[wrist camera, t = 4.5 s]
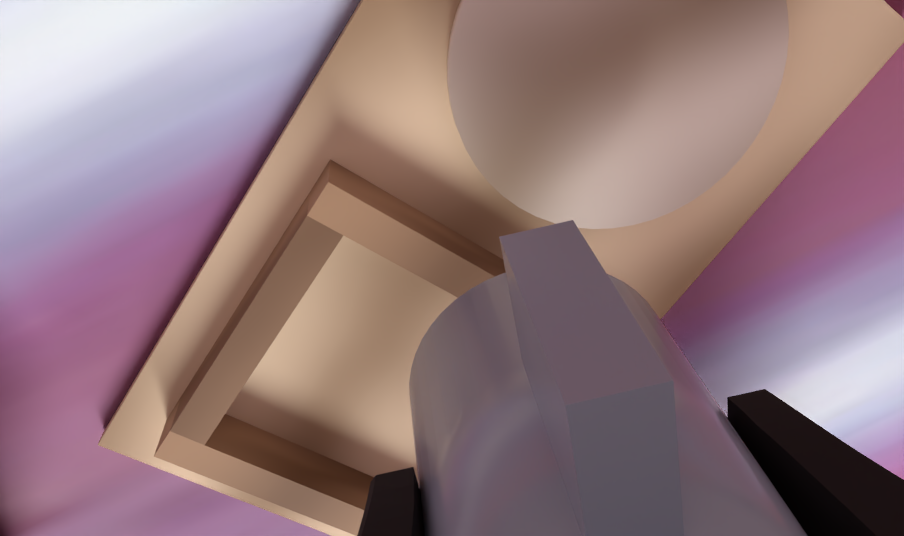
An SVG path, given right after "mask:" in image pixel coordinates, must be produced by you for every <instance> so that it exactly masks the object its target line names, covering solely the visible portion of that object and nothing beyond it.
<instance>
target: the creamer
mask: <svg viewBox="0 0 904 536" xmlns="http://www.w3.org/2000/svg"><path fill="white" fill-rule="evenodd" d="M499 239H500V244H501V250H502V255H503V260H504V266H505V271H506V273H503V274H500V275H498V276H495V277H493V278H491V279H488V280H486V281H484V282H482V283H480V284H479V285H477V286H475V287H473V288H472V289H470V290H468V291H467V292H465V293H464V294H463V295H461V296H460V297H459V298H457V299H456V300H454V301H453V302H452V303H451V304H450V305H449V306H448V307H447V308H446V309H445V310H444V311H443V312H442V313H441V314H440V315H439V316H438V317H437V319H436V320H435V321H434V322H433V323H432V324H431V326H430V327H429V329H428V330H427V332H426V334H425V335H424V337H423V338H422V340H421V342H420V344H419V347H418V349H417V351H416V353H415V356H414V360H413V363H412V367H411V372H410V380H409V395H410V406H411V416H412V426H413V435H414V445H415V454H416V464H417V474H418V483H419V489H420V497H421V506H422V516H423V525H424V535H425V536H808V535H807V534H806V532H805V531H804V530H803V528H802V527H801V525H800V524H799V522H798V521H797V519H796V518H795V516H794V515H793V513H792V512H791V510H790V509H789V508H788V506H787V505H786V503H785V502H784V500H783V499H782V497H781V496H780V494H779V493H778V491H777V490H776V488H775V487H774V486H773V484H772V483H771V481H770V480H769V478H768V477H767V475H766V474H765V472H764V471H763V469H762V468H761V466H760V465H759V464H758V462H757V461H756V459H755V458H754V456H753V455H752V453H751V452H750V450H749V449H748V447H747V446H746V444H745V443H744V442H743V440H742V439H741V437H740V436H739V434H738V433H737V431H736V430H735V428H734V427H733V425H732V424H731V422H730V421H729V420H728V418H727V417H726V415H725V414H724V412H723V411H722V409H721V408H720V406H719V405H718V403H717V402H716V400H715V399H714V398H713V396H712V395H711V393H710V392H709V390H708V389H707V387H706V386H705V384H704V383H703V381H702V380H701V378H700V377H699V376H698V374H697V373H696V371H695V370H694V368H693V367H692V365H691V364H690V362H689V361H688V359H687V358H686V356H685V355H684V354H683V352H682V351H681V349H680V348H679V346H678V345H677V343H676V342H675V340H674V339H673V337H672V336H671V334H670V333H669V332H668V330H667V329H666V327H665V326H664V324H663V323H662V321H661V320H660V318H659V317H658V315H657V314H656V312H655V311H654V310H653V308H652V307H651V306H650V304H649V303H648V302H647V301H646V300H645V299H644V298H643V297H642V296H641V295H640V294H639V293H638V292H637V291H636V290H635V289H633V288H632V287H630V286H629V285H627V284H626V283H625V282H623V281H621V280H619V279H617V278H615V277H613V276H611V275H609V274H607V273H606V272H605V270H604V269H603V267H602V266H601V264H600V262H599V261H598V259H597V258H596V256H595V254H594V253H593V251H592V250H591V248H590V246H589V245H588V243H587V242H586V240H585V238H584V237H583V235H582V234H581V232H580V230H579V229H578V227H577V226H576V224H575V222H574V221H573V220H570V221H566V222H562V223H557V224H553V225H548V226H544V227H540V228H535V229H531V230H526V231H522V232H518V233H513V234H509V235H505V236H500V237H499Z"/></svg>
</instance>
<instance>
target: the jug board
mask: <svg viewBox="0 0 904 536" xmlns="http://www.w3.org/2000/svg"><path fill="white" fill-rule="evenodd" d="M903 43H904V19H903V18H902V17H901V16H900V15H899V14H898V13H897V12H896V11H895V10H894V9H893V8H891V7H890V6H889V5H888V4H887V3H886V2H885V1H884V0H361V1H360V2H359V4H358V6H357V7H356V9H355V11H354V12H353V14H352V16H351V17H350V19H349V21H348V22H347V24H346V26H345V27H344V29H343V31H342V32H341V34H340V36H339V37H338V39H337V41H336V43H335V44H334V46H333V48H332V49H331V51H330V53H329V54H328V56H327V58H326V59H325V61H324V63H323V64H322V66H321V68H320V69H319V71H318V73H317V74H316V76H315V78H314V79H313V81H312V83H311V85H310V86H309V88H308V90H307V91H306V93H305V95H304V96H303V98H302V100H301V101H300V103H299V105H298V106H297V108H296V110H295V111H294V113H293V115H292V116H291V118H290V120H289V121H288V123H287V125H286V126H285V128H284V130H283V132H282V133H281V135H280V137H279V138H278V140H277V142H276V143H275V145H274V147H273V148H272V150H271V152H270V153H269V155H268V157H267V158H266V160H265V162H264V163H263V165H262V167H261V168H260V170H259V172H258V173H257V175H256V177H255V179H254V180H253V182H252V184H251V185H250V187H249V189H248V190H247V192H246V194H245V195H244V197H243V199H242V200H241V202H240V204H239V205H238V207H237V209H236V210H235V212H234V214H233V215H232V217H231V219H230V220H229V222H228V224H227V226H226V227H225V229H224V231H223V232H222V234H221V236H220V237H219V239H218V241H217V242H216V244H215V246H214V247H213V249H212V251H211V252H210V254H209V256H208V257H207V259H206V261H205V262H204V264H203V266H202V267H201V269H200V271H199V273H198V274H197V276H196V278H195V279H194V281H193V283H192V284H191V286H190V288H189V289H188V291H187V293H186V294H185V296H184V298H183V299H182V301H181V303H180V304H179V306H178V308H177V309H176V311H175V313H174V314H173V316H172V318H171V320H170V321H169V323H168V325H167V326H166V328H165V330H164V331H163V333H162V335H161V336H160V338H159V340H158V341H157V343H156V345H155V346H154V348H153V350H152V351H151V353H150V355H149V356H148V358H147V360H146V361H145V363H144V365H143V367H142V368H141V370H140V372H139V373H138V375H137V377H136V378H135V380H134V382H133V383H132V385H131V387H130V388H129V390H128V392H127V393H126V395H125V397H124V398H123V400H122V402H121V403H120V405H119V407H118V409H117V410H116V412H115V414H114V415H113V417H112V419H111V420H110V422H109V424H108V425H107V427H106V429H105V430H104V432H103V434H102V437H101V439H100V441H99V443H98V445H99V446H102V447H104V448H107V449H109V450H112V451H115V452H117V453H120V454H122V455H125V456H128V457H130V458H133V459H135V460H138V461H140V462H143V463H146V464H148V465H151V466H153V467H156V468H159V469H161V470H164V471H166V472H169V473H171V474H174V475H177V476H179V477H182V478H184V479H187V480H190V481H192V482H195V483H197V484H200V485H202V486H205V487H208V488H210V489H213V490H215V491H218V492H221V493H223V494H226V495H228V496H231V497H233V498H236V499H239V500H241V501H244V502H246V503H249V504H252V505H254V506H257V507H259V508H262V509H264V510H267V511H270V512H272V513H275V514H277V515H280V516H282V517H285V518H288V519H290V520H293V521H295V522H298V523H301V524H303V525H306V526H308V527H311V528H313V529H316V530H319V531H321V532H324V533H326V534H329V535H332V536H357V535H358V532H359V528H360V525H361V521H362V517H363V514H364V510H365V506H366V501H367V497H368V492H369V487H370V482H371V481H372V479H373V478H374V477H375V476H376V475H379V474H383V473H388V472H392V471H397V470H401V469H406V468H410V467H414V471H415V475H416V478H417V482H418V474H417V464H416V454H415V445H414V435H413V426H412V416H411V406H410V395H409V380H410V372H411V367H412V363H413V360H414V356H415V353H416V351H417V349H418V347H419V344H420V342H421V340H422V338H423V337H424V335H425V334H426V332H427V330H428V329H429V327H430V326H431V324H432V323H433V322H434V321H435V320H436V319H437V317H438V316H439V315H440V314H441V313H442V312H443V311H444V310H445V309H446V308H447V307H448V306H449V305H450V304H451V303H452V302H453V301H454V300H456V299H457V298H459V297H460V296H461V295H463V294H464V293H465V292H467V291H468V290H470V289H472V288H473V287H475V286H477V285H479V284H480V283H482V282H484V281H486V280H488V279H491V278H493V277H495V276H498V275H500V274H503V273H506V271H505V266H504V260H503V255H502V250H501V244H500V239H499V237H500V236H505V235H509V234H513V233H518V232H522V231H526V230H531V229H535V228H540V227H544V226H548V225H553V224H557V223H562V222H566V221H570V220H573V221H574V222H575V224H576V226H577V227H578V229H579V230H580V232H581V234H582V235H583V237H584V238H585V240H586V242H587V243H588V245H589V246H590V248H591V250H592V251H593V253H594V254H595V256H596V258H597V259H598V261H599V262H600V264H601V266H602V267H603V269H604V270H605V272H606V273H607V274H609V275H611V276H613V277H615V278H617V279H619V280H621V281H623V282H625V283H626V284H627V285H629V286H630V287H632V288H633V289H635V290H636V291H637V292H638V293H639V294H640V295H641V296H642V297H643V298H644V299H645V300H646V301H647V302H648V303H649V304H650V306H651V307H652V308H653V310H654V311H655V312H656V314H657V315H658V317H659V318H660V320H661V318H662V317H663V316H664V315H665V314H666V313H667V312H668V310H669V309H670V308H671V307H672V306H673V305H674V304H675V303H676V301H677V300H678V299H679V298H680V297H681V296H682V295H683V293H684V292H685V291H686V290H687V289H688V288H689V287H690V285H691V284H692V283H693V282H694V281H695V280H696V279H697V277H698V276H699V275H700V274H701V273H702V272H703V271H704V269H705V268H706V267H707V266H708V265H709V264H710V263H711V261H712V260H713V259H714V258H715V257H716V256H717V255H718V253H719V252H720V251H721V250H722V249H723V248H724V247H725V246H726V244H727V243H728V242H729V241H730V240H731V239H732V238H733V236H734V235H735V234H736V233H737V232H738V231H739V230H740V228H741V227H742V226H743V225H744V224H745V223H746V222H747V220H748V219H749V218H750V217H751V216H752V215H753V214H754V212H755V211H756V210H757V209H758V208H759V207H760V206H761V204H762V203H763V202H764V201H765V200H766V199H767V198H768V196H769V195H770V194H771V193H772V192H773V191H774V190H775V189H776V187H777V186H778V185H779V184H780V183H781V182H782V181H783V179H784V178H785V177H786V176H787V175H788V174H789V173H790V171H791V170H792V169H793V168H794V167H795V166H796V165H797V163H798V162H799V161H800V160H801V159H802V158H803V157H804V155H805V154H806V153H807V152H808V151H809V150H810V149H811V147H812V146H813V145H814V144H815V143H816V142H817V141H818V139H819V138H820V137H821V136H822V135H823V134H824V133H825V132H826V130H827V129H828V128H829V127H830V126H831V125H832V124H833V122H834V121H835V120H836V119H837V118H838V117H839V116H840V114H841V113H842V112H843V111H844V110H845V109H846V108H847V106H848V105H849V104H850V103H851V102H852V101H853V100H854V98H855V97H856V96H857V95H858V94H859V93H860V92H861V90H862V89H863V88H864V87H865V86H866V85H867V84H868V83H869V81H870V80H871V79H872V78H873V77H874V76H875V75H876V73H877V72H878V71H879V70H880V69H881V68H882V67H883V65H884V64H885V63H886V62H887V61H888V60H889V59H890V57H891V56H892V55H893V54H894V53H895V52H896V51H897V49H898V48H899V47H900V46H901V45H902V44H903ZM418 485H419V483H418Z"/></svg>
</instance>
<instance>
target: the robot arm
mask: <svg viewBox="0 0 904 536" xmlns="http://www.w3.org/2000/svg"><path fill="white" fill-rule="evenodd" d="M727 399H728V420H729V421H730V422H731V424H732V425H733V427H734V428H735V430H736V431H737V433H738V434H739V436H740V437H741V439H742V440H743V442H744V443H745V444H746V446H747V447H748V449H749V450H750V452H751V453H752V455H753V456H754V458H755V459H756V461H757V462H758V464H759V465H760V466H761V468H762V469H763V471H764V472H765V474H766V475H767V477H768V478H769V480H770V481H771V483H772V484H773V486H774V487H775V488H776V490H777V491H778V493H779V494H780V496H781V497H782V499H783V500H784V502H785V503H786V505H787V506H788V508H789V509H790V510H791V512H792V513H793V515H794V516H795V518H796V519H797V521H798V522H799V524H800V525H801V527H802V528H803V530H804V531H805V532H806V534H807V535H808V536H904V480H903V479H901V478H900V477H898V476H896V475H895V474H893V473H891V472H890V471H888V470H887V469H885V468H883V467H882V466H880V465H879V464H877V463H875V462H874V461H872V460H871V459H869V458H867V457H866V456H864V455H863V454H861V453H860V452H858V451H856V450H855V449H853V448H852V447H850V446H849V445H847V444H846V443H844V442H843V441H841V440H840V439H838V438H837V437H835V436H834V435H832V434H831V433H829V432H828V431H826V430H825V429H823V428H822V427H820V426H819V425H817V424H816V423H814V422H813V421H811V420H810V419H808V418H807V417H805V416H804V415H803V414H801V413H800V412H798V411H797V410H795V409H794V408H792V407H791V406H789V405H788V404H786V403H785V402H783V401H782V400H780V399H779V398H777V397H776V396H774V395H773V394H771V393H770V392H768V391H767V390H765V389H763V390H759V391H754V392H750V393H745V394H741V395H736V396H732V397H727ZM357 536H425V535H424V525H423V516H422V506H421V497H420V489H419V485H418V482H417V478H416V475H415V471H414V467H410V468H406V469H401V470H397V471H392V472H388V473H383V474H379V475H376V476H375V477H374V478H373V479H372V481H371V482H370V487H369V492H368V497H367V501H366V506H365V510H364V514H363V517H362V521H361V525H360V528H359V532H358V535H357Z"/></svg>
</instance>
